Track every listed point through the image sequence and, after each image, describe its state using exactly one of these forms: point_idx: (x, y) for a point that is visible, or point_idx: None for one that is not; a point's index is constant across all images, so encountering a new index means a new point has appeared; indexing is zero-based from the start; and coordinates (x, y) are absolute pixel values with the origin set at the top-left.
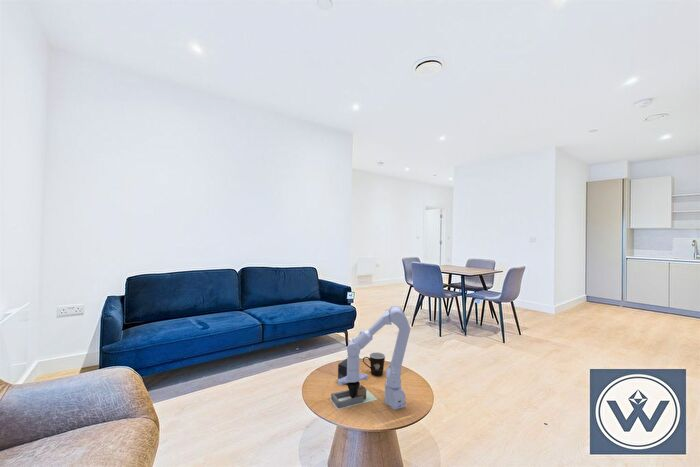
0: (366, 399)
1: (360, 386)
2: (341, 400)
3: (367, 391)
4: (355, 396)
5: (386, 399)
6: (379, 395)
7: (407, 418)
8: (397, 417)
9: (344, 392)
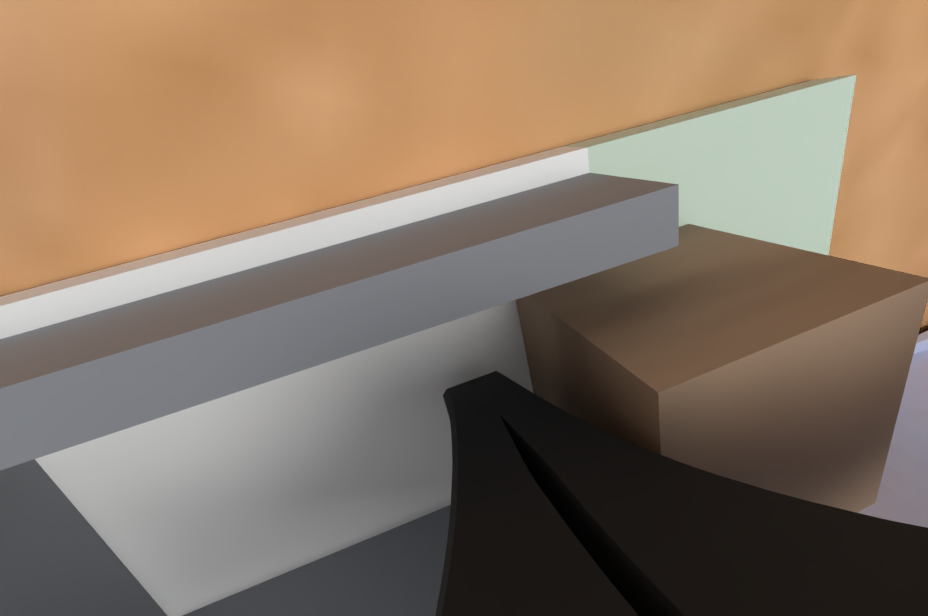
0: None
1: (844, 379)
2: (219, 431)
3: (823, 137)
4: (549, 391)
5: (897, 521)
6: (885, 227)
7: None
8: None
9: (293, 368)
